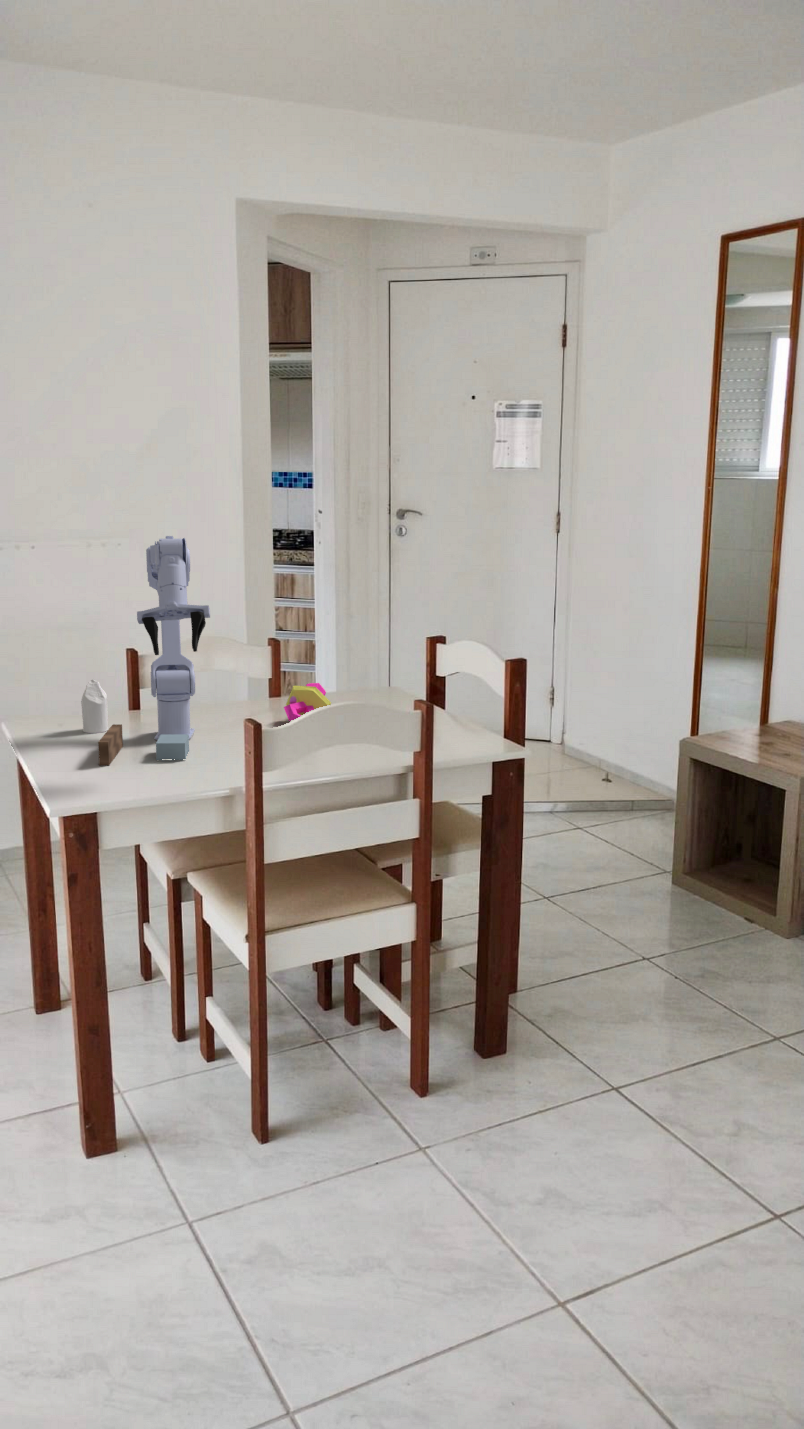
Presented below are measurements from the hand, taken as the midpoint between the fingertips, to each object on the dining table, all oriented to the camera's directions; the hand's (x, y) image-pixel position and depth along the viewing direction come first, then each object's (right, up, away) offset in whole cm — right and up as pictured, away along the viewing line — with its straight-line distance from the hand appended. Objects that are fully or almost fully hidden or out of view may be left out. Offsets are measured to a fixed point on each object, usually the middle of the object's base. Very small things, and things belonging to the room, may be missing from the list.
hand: (175, 651), depth 226 cm
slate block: (-3, -22, +14) cm, 26 cm away
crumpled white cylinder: (-26, -17, +36) cm, 47 cm away
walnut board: (-16, -22, +14) cm, 30 cm away
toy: (+23, -15, +48) cm, 55 cm away
